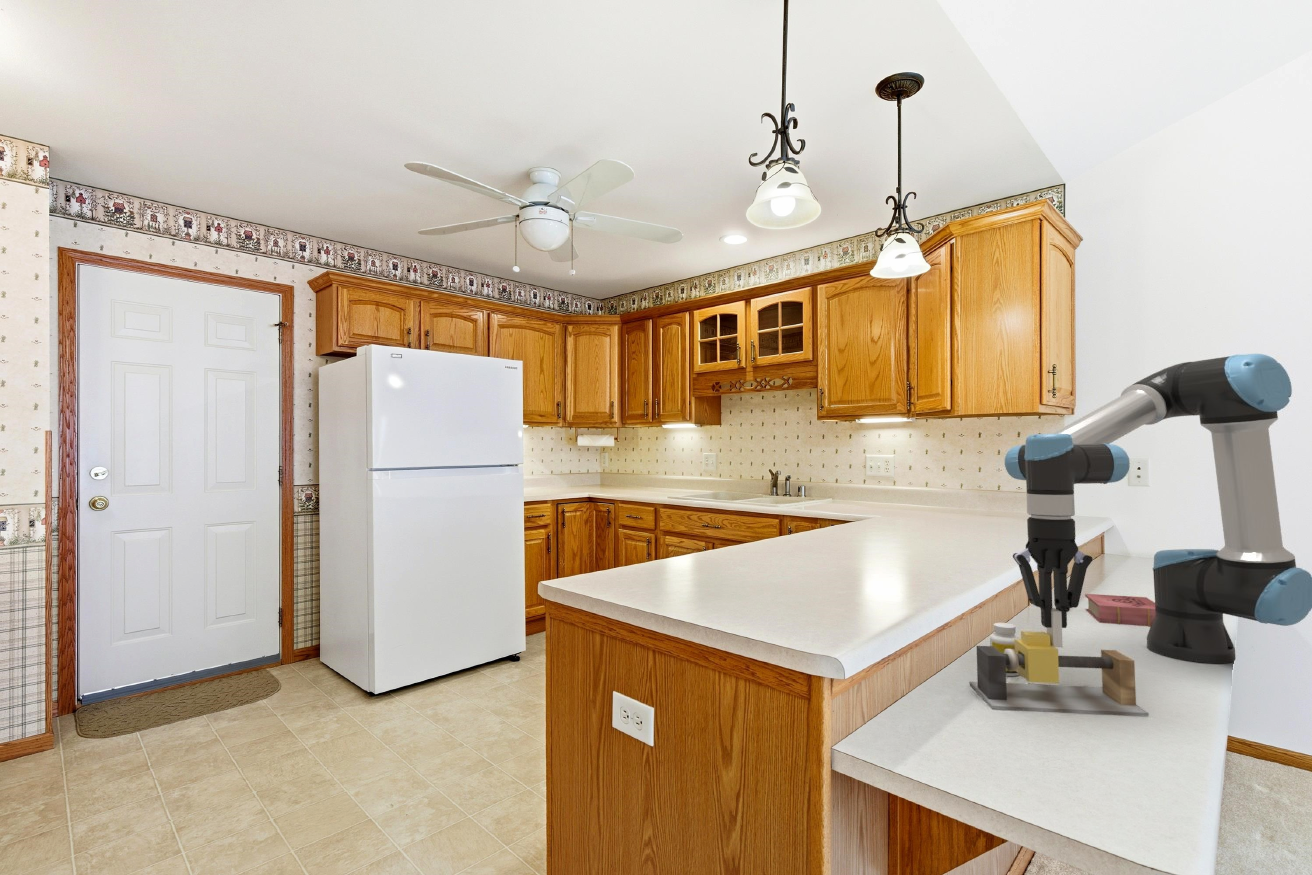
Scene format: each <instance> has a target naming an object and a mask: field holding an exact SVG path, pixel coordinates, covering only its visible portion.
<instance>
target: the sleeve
mask: <svg viewBox="0 0 1312 875" xmlns="http://www.w3.org/2000/svg"><path fill="white" fill-rule="evenodd" d="M1014 640H1015V651H1016V653H1017V654H1024V655H1025V666H1019V667H1018V670H1017V671H1016V672H1017V673H1019V674H1020V675H1019V676H1021V677H1022V678H1024V679H1025V680H1026V681H1027V682H1028V683H1039V684H1044V683H1045V684H1059V683H1060V673H1059V672H1060V671H1059V669H1060V667H1059V665H1058V656H1059V648H1057V647H1053V646H1052V645H1050V635H1048V634H1047V632H1045V631H1034V630H1033V631H1032V630H1031V631H1028V630H1027V631H1026V630H1025V631H1024V630H1021V631H1020V638H1019V639H1014Z"/></svg>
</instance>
